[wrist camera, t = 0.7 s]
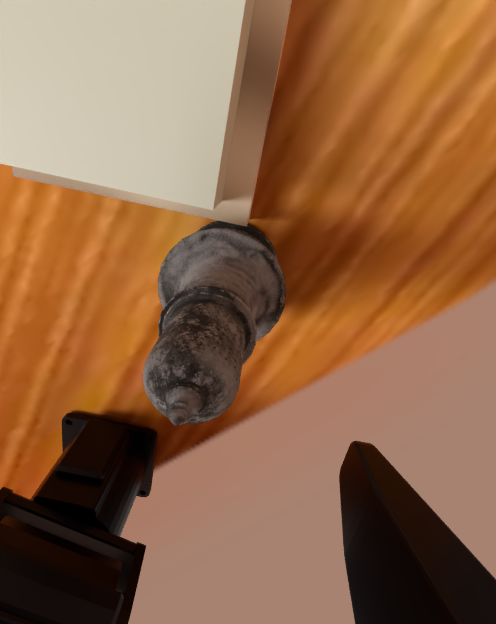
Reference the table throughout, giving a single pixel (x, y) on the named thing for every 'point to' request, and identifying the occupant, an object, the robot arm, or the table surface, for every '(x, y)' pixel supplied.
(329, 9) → the table surface
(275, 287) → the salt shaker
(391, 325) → the table surface
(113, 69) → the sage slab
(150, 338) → the table surface
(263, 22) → the birch slab
